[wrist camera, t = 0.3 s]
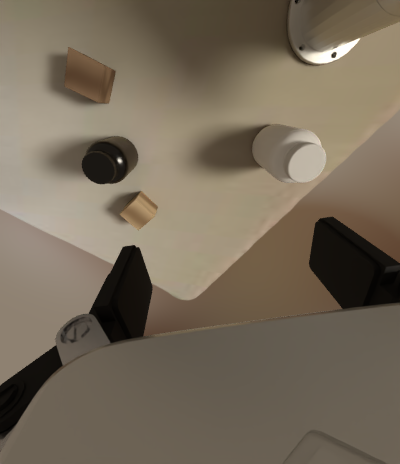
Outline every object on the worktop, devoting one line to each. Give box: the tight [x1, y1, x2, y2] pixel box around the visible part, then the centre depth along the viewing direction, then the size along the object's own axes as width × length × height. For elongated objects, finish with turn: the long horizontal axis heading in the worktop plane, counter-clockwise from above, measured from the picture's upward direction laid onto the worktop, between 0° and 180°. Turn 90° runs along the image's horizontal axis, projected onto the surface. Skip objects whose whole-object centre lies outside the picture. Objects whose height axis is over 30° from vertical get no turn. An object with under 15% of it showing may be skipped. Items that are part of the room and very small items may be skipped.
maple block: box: [120, 191, 158, 230], centre depth 45 cm, size 5×5×5 cm
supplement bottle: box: [82, 136, 138, 184], centre depth 36 cm, size 7×7×12 cm
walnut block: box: [64, 47, 116, 103], centre depth 33 cm, size 5×5×5 cm
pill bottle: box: [252, 124, 326, 183], centre depth 35 cm, size 8×8×15 cm
